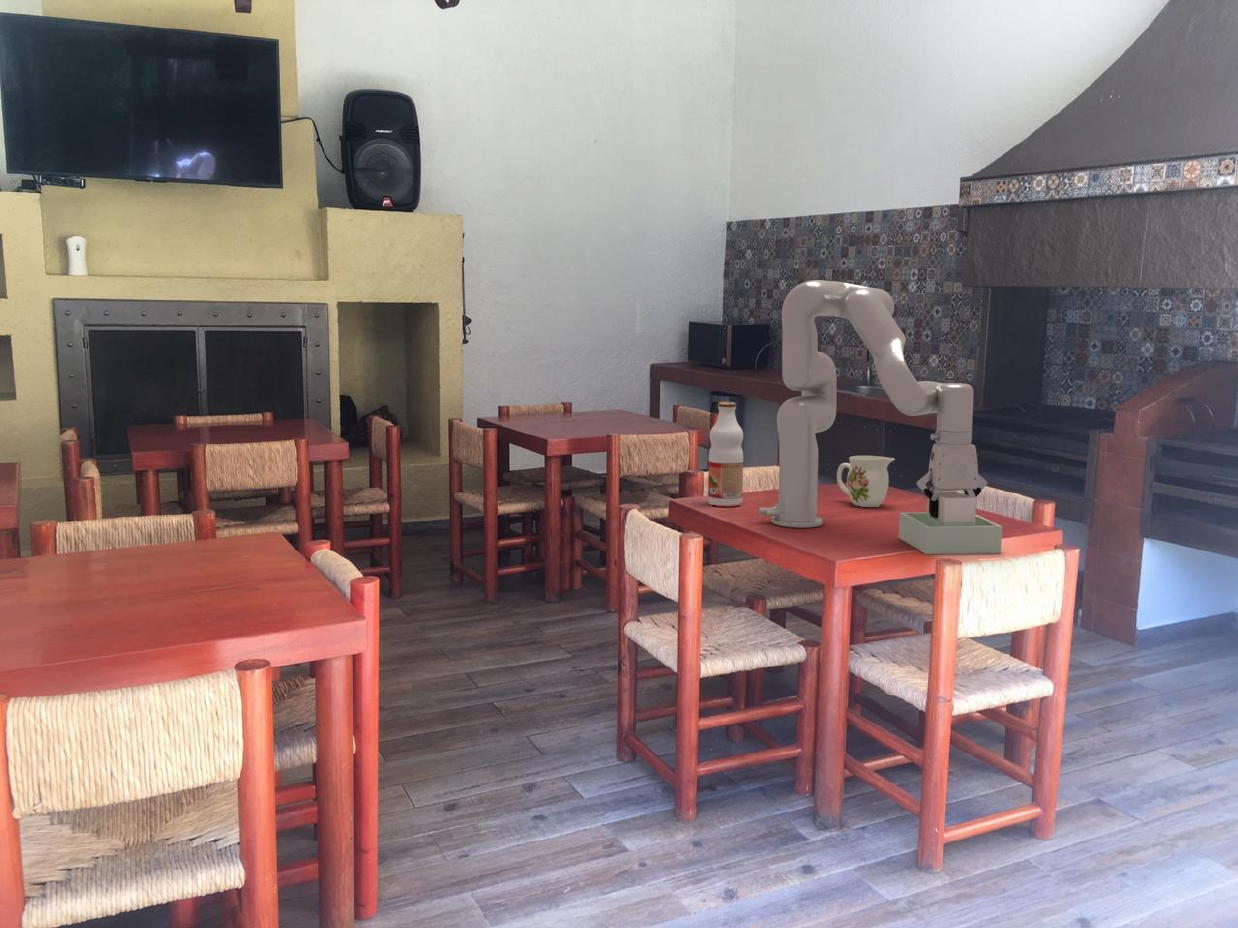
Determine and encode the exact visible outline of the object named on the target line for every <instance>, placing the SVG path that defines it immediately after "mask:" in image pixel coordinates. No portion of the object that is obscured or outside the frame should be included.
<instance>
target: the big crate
mask: <svg viewBox="0 0 1238 928" xmlns="http://www.w3.org/2000/svg"><path fill="white" fill-rule="evenodd" d="M898 523H899V524H898V539H900V540H901V541H902V542H904V543H906V544H908V545H910V546H911V547H913V548H915V549H916V550H918V551H920V552H922V553H923V554H925V555H956V554H957V555H960V554H961V555H963V554H964V555H966V554H968V555H970V554H971V555H972V554H974V555H975V554H978V555H979V554H1001V553H1002V541H1003V526H1002V525H1001V524H998V523H996V522H994V521H991V520H989V519H987V518H984V517H982V516H980V515H978V514H976V513H975V525H943V524H941V523H939V522H937V521H935V520H932V519H930V518H928V517H927V512H899V522H898Z"/></svg>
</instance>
